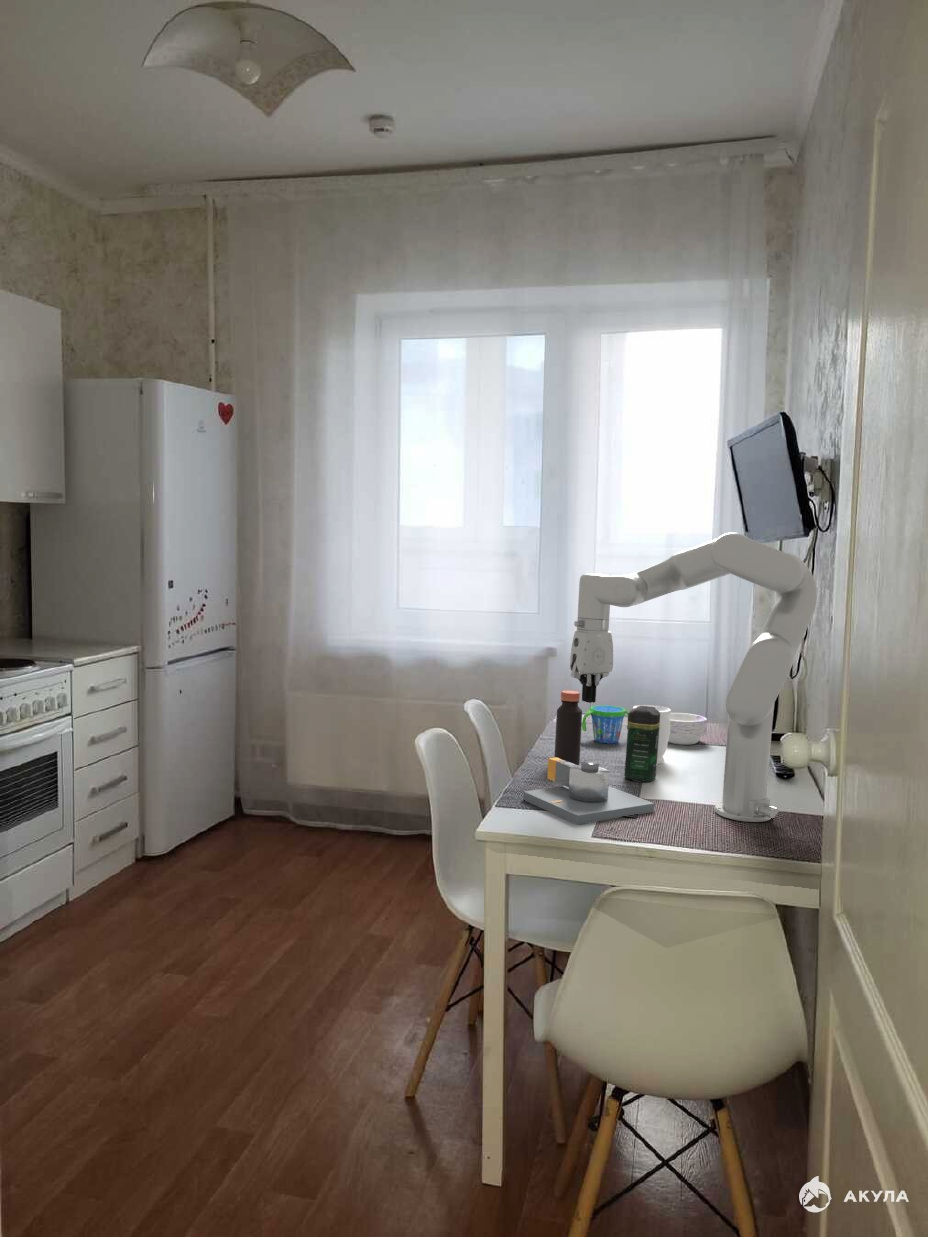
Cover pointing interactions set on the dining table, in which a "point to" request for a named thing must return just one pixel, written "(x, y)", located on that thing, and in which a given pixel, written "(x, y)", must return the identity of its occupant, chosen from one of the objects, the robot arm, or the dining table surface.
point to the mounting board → (587, 805)
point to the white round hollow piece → (686, 728)
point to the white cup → (662, 730)
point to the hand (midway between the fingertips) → (588, 701)
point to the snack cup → (606, 722)
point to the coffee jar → (642, 744)
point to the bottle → (568, 728)
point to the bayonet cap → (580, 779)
